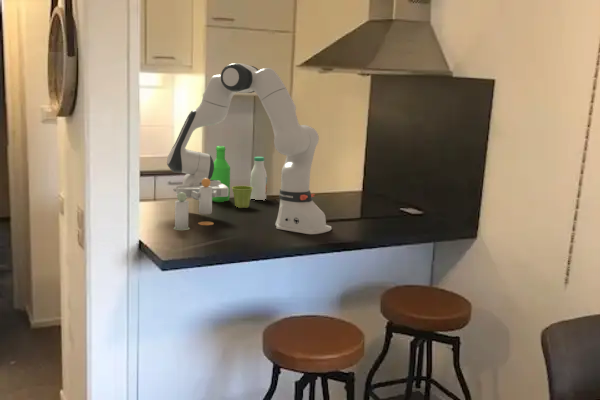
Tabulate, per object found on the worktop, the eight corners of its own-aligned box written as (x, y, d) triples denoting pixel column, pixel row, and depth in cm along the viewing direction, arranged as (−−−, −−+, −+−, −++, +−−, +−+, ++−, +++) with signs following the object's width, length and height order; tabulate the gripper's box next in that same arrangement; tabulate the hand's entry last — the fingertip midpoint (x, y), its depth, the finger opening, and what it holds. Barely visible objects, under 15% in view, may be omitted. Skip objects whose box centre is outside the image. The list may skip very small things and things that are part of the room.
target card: (222, 226, 246) (222, 224, 246) (182, 234, 231) (182, 232, 230) (204, 221, 252) (204, 219, 252) (164, 229, 237) (164, 227, 237)
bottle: (208, 199, 298) (209, 145, 293) (227, 198, 300) (228, 145, 295) (212, 202, 289) (212, 147, 284) (231, 202, 292) (232, 147, 287)
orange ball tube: (214, 213, 245) (215, 178, 243) (204, 214, 242) (205, 179, 239) (205, 210, 248) (206, 176, 246) (196, 212, 245) (197, 177, 242)
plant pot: (227, 207, 280) (227, 188, 279) (236, 203, 289) (236, 184, 288) (247, 209, 278) (247, 190, 276) (255, 206, 286) (256, 186, 285)
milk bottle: (263, 201, 297) (265, 158, 293) (247, 200, 298) (249, 157, 295) (268, 198, 304) (269, 156, 301) (252, 197, 306) (253, 155, 302)
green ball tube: (190, 228, 237) (191, 192, 234) (180, 230, 233) (181, 194, 231) (182, 226, 240) (182, 190, 237) (172, 227, 236) (172, 192, 234)
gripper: (172, 181, 251) (178, 187, 239) (223, 180, 259) (232, 186, 246) (172, 196, 252) (178, 204, 240) (223, 195, 260) (231, 202, 247)
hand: (206, 195), depth 243 cm, fingers closed on orange ball tube, 5 cm apart
